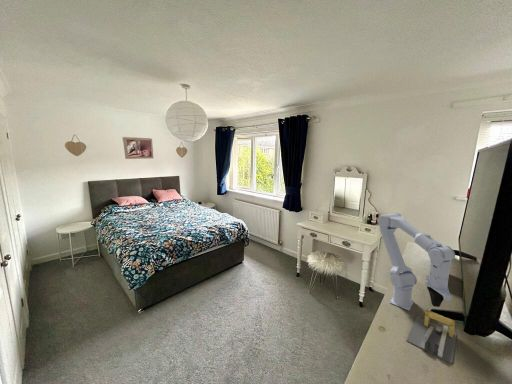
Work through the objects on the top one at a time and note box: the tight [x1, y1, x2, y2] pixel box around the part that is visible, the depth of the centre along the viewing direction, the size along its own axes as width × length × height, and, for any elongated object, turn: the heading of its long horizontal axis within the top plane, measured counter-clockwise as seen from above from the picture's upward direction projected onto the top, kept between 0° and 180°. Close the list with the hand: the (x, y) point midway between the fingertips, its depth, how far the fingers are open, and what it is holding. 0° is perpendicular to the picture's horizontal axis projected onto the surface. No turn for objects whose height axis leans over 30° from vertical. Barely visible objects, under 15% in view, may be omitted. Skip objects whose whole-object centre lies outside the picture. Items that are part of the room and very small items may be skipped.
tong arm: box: [420, 326, 434, 352], centre depth 81 cm, size 12×2×2 cm, turn 128°
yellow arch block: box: [424, 309, 456, 338], centre depth 85 cm, size 3×9×6 cm, turn 43°
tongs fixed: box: [434, 324, 449, 359], centre depth 80 cm, size 16×3×2 cm, turn 133°
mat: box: [406, 316, 458, 365], centre depth 83 cm, size 18×13×1 cm
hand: (435, 305), depth 87 cm, fingers closed
